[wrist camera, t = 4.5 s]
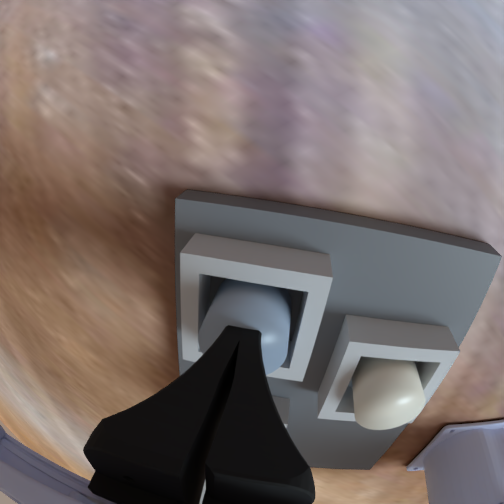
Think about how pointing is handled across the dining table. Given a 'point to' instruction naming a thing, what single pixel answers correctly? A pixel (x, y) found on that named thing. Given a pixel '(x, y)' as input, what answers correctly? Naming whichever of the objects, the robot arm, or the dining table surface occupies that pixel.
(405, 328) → the button panel
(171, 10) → the dining table surface
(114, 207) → the dining table surface
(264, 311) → the slate-blue button
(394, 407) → the cream button
